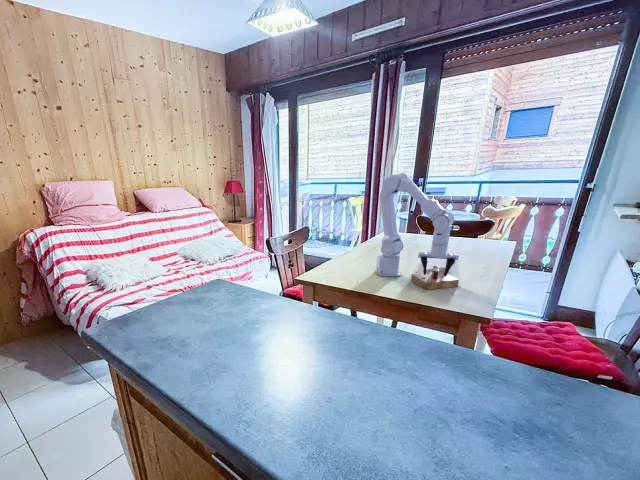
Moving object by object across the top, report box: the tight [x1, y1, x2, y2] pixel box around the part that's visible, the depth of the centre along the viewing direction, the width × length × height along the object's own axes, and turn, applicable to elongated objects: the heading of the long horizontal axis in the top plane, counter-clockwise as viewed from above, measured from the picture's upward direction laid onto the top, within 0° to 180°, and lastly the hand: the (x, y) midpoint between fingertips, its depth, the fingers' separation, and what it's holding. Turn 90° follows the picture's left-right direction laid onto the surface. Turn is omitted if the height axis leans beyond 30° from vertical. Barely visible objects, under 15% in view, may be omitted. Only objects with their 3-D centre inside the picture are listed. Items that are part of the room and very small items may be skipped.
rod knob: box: [432, 266, 439, 279], centre depth 136 cm, size 6×2×4 cm, turn 156°
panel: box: [410, 271, 460, 291], centre depth 138 cm, size 14×11×3 cm
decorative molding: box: [422, 246, 451, 275], centre depth 159 cm, size 34×5×10 cm
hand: (434, 274), depth 137 cm, fingers open, 7 cm apart
